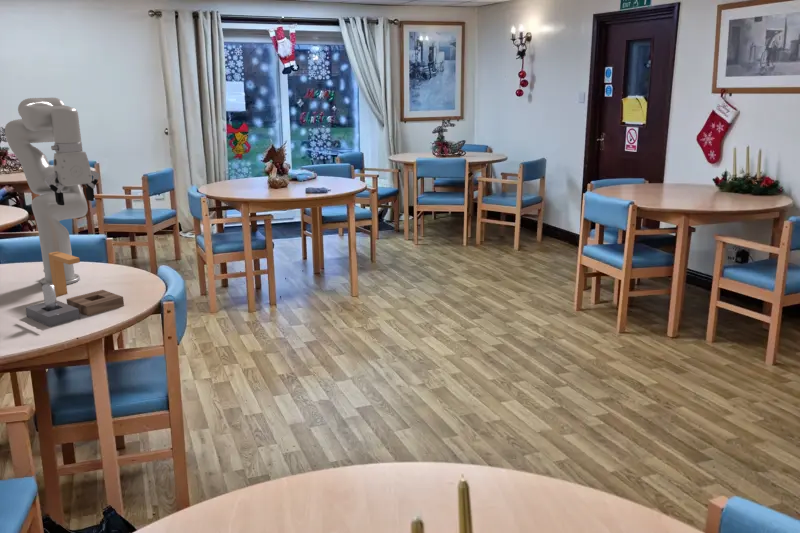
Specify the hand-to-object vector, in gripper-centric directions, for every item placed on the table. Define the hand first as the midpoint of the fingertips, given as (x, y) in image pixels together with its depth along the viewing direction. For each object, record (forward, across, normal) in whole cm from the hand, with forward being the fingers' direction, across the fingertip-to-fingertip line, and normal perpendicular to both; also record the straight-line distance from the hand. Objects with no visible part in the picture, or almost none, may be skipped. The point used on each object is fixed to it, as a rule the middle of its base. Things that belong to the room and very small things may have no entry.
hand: (75, 202), depth 216 cm
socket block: (+32, -4, -12) cm, 35 cm away
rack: (+32, -17, -11) cm, 38 cm away
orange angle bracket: (+32, -4, +5) cm, 33 cm away
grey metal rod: (+31, -17, -11) cm, 37 cm away
